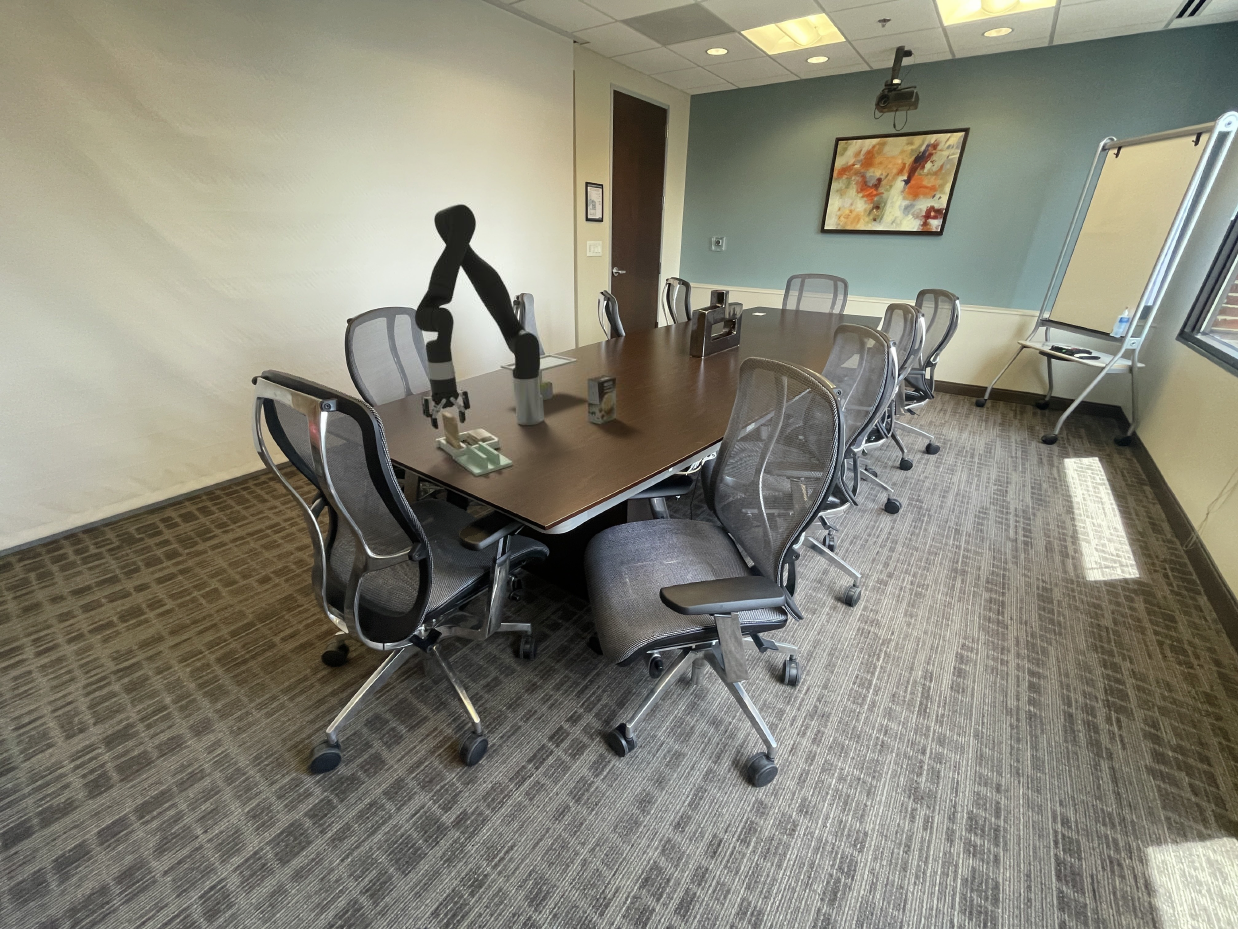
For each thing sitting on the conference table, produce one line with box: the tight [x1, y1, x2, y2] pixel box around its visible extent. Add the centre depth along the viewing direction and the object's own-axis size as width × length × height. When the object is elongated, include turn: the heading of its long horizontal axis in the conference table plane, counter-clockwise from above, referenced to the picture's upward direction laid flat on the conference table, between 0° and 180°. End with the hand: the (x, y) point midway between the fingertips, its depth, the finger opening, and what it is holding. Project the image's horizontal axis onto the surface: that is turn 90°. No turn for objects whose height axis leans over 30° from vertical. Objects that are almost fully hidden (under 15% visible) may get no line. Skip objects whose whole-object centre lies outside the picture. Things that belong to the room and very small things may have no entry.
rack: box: [435, 428, 500, 461], centre depth 164 cm, size 16×14×2 cm
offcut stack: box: [466, 428, 492, 446], centre depth 166 cm, size 5×9×4 cm, turn 40°
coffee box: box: [587, 374, 617, 425], centre depth 185 cm, size 9×6×16 cm
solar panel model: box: [500, 353, 578, 401], centre depth 211 cm, size 28×17×15 cm, turn 141°
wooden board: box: [441, 411, 461, 450], centre depth 159 cm, size 2×8×12 cm, turn 40°
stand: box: [455, 442, 514, 477], centre depth 152 cm, size 12×14×4 cm
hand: (449, 425), depth 158 cm, fingers open, 8 cm apart
